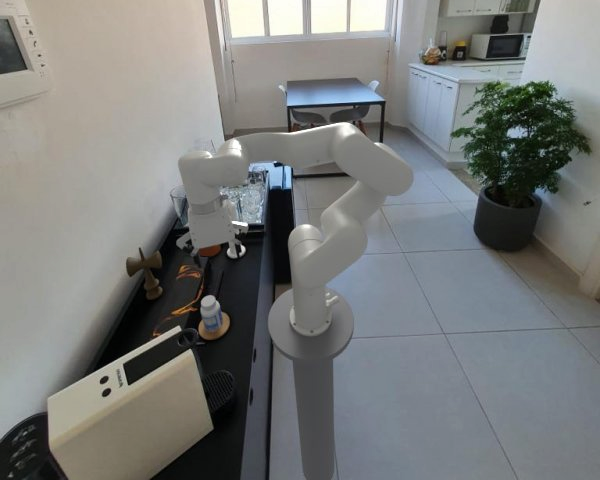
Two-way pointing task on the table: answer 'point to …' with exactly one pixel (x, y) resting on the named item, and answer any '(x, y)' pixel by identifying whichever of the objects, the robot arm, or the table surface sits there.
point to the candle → (231, 250)
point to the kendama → (146, 272)
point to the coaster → (215, 334)
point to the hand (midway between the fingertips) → (219, 259)
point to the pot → (210, 250)
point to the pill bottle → (211, 313)
